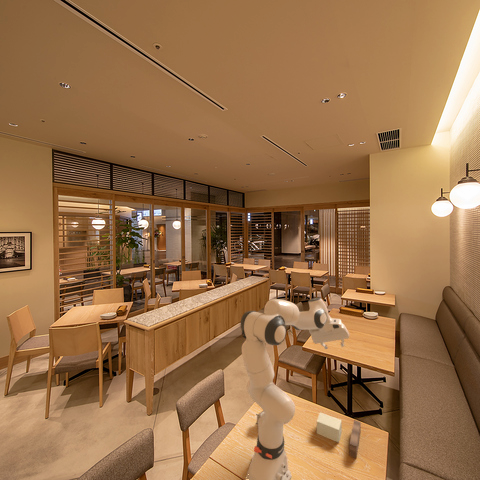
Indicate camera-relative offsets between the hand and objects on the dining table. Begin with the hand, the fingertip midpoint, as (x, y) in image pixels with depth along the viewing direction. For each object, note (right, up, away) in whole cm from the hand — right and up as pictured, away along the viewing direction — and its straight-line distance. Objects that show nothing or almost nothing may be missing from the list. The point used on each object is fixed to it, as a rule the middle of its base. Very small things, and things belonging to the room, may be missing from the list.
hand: (334, 347), depth 139 cm
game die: (-41, -42, -4) cm, 58 cm away
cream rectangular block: (-7, -41, -10) cm, 42 cm away
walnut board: (+4, -41, -16) cm, 44 cm away
